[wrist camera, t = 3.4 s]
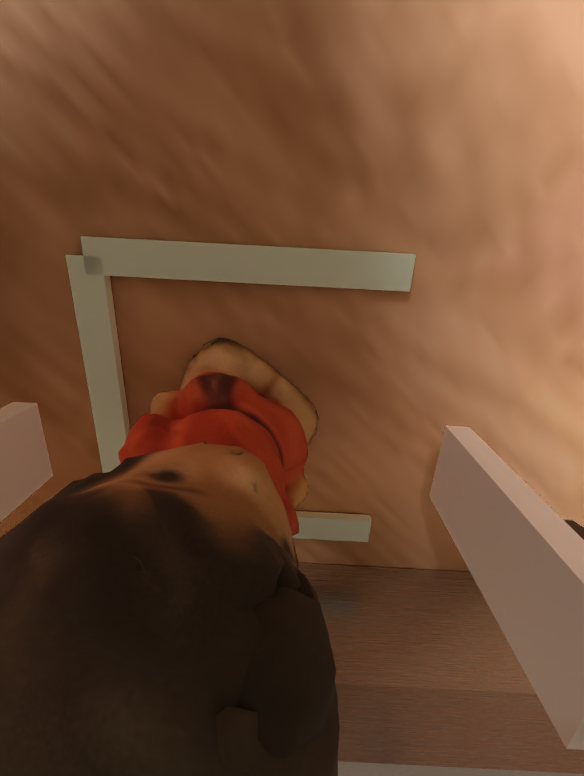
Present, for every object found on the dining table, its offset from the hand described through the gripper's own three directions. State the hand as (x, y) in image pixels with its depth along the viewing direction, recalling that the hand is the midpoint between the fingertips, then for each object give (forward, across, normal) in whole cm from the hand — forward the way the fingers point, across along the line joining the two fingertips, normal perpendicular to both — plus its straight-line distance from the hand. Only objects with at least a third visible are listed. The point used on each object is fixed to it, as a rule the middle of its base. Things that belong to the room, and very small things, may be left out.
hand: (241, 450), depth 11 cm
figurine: (+3, 0, 0) cm, 3 cm away
